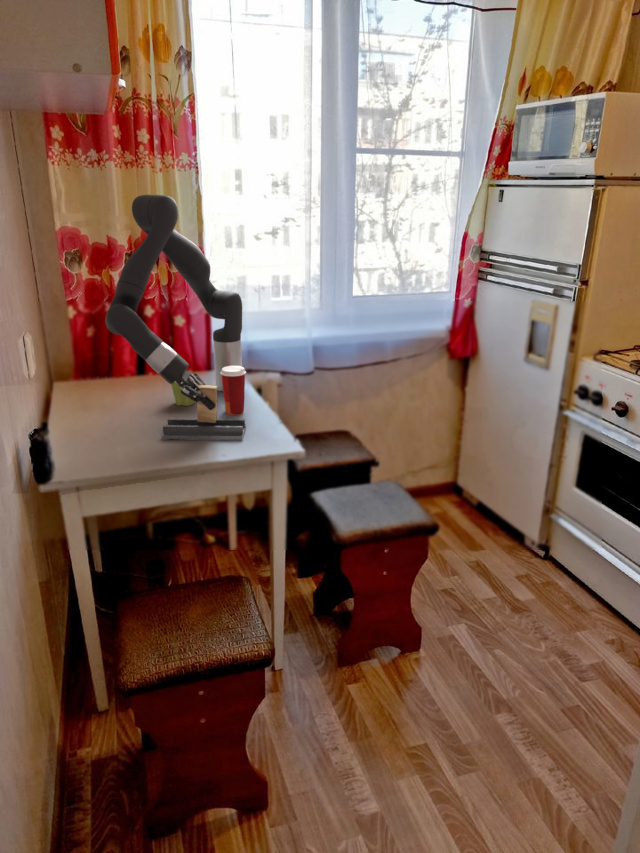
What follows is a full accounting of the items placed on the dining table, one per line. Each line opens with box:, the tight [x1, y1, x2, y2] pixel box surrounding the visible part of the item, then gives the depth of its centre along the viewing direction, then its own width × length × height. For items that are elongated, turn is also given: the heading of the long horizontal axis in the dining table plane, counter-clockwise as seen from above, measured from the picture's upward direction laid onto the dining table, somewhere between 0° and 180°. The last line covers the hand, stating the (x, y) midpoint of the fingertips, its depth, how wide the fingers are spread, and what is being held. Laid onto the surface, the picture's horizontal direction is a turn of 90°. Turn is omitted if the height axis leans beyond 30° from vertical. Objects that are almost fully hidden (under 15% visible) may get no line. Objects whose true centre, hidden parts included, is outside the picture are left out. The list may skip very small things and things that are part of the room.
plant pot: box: [170, 381, 196, 407], centre depth 196 cm, size 9×9×9 cm
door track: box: [161, 418, 247, 441], centre depth 172 cm, size 10×22×3 cm, turn 90°
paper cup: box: [220, 366, 247, 416], centre depth 187 cm, size 8×8×14 cm
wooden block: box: [196, 384, 218, 423], centre depth 170 cm, size 2×5×10 cm, turn 90°
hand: (214, 405), depth 170 cm, fingers closed on wooden block, 2 cm apart
